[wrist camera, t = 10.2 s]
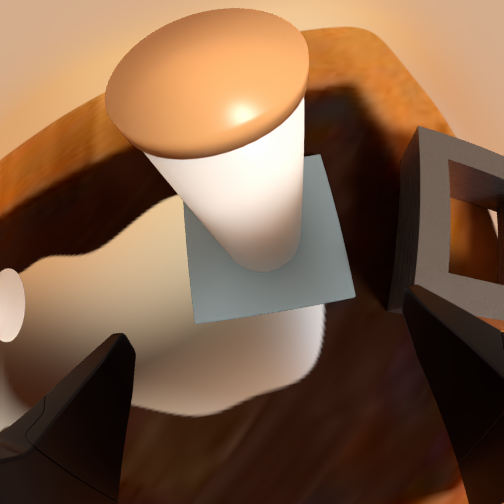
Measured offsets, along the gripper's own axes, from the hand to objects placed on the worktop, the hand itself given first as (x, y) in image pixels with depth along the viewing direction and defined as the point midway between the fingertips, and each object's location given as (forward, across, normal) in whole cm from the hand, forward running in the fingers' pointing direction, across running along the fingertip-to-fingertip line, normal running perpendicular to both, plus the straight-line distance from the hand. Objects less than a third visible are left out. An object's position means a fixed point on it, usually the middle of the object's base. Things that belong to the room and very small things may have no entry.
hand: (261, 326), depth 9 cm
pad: (+10, 0, +2) cm, 10 cm away
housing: (+8, -13, +4) cm, 15 cm away
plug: (+9, 0, +1) cm, 9 cm away
